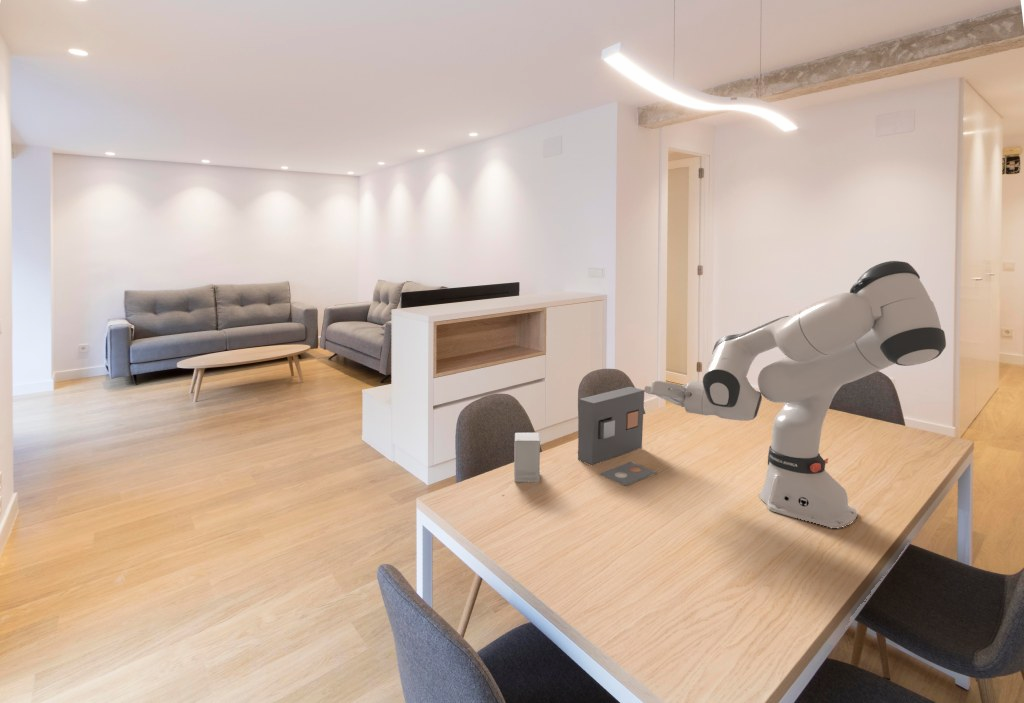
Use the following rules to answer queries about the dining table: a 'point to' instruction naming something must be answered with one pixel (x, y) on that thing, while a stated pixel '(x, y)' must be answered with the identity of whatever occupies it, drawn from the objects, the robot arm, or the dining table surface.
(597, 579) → the dining table surface
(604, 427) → the grey button
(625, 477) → the pattern card
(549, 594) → the dining table surface
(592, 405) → the panel
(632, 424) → the button terracotta
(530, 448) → the supplement box
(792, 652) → the dining table surface
